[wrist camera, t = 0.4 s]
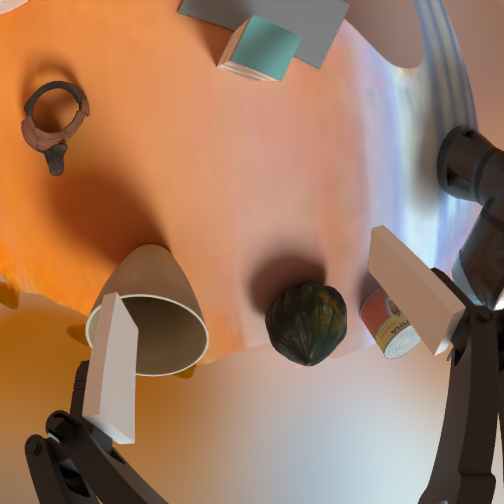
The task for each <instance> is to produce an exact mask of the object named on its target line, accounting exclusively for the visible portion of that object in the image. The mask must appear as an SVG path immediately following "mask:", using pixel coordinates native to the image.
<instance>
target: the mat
mask: <svg viewBox="0 0 504 504" xmlns="http://www.w3.org/2000/svg"><path fill="white" fill-rule="evenodd" d="M349 7H350V5H349V4H348V3H346V2H344V1H343V0H184V1H183V3H182V5H181V7H180V9H179V11H178V13H180V14H183V15H187V16H190V17H194V18H197V19H200V20H204V21H207V22H210V23H213V24H216V25H219V26H222V27H225V28H227V29H230V30H233V31H236V30H237V29H238V28H239V27H240V26H241V25H242V24H243V23H244V22H245V21H247V20H248V19H249V18H250V17H251V16H252V15H254V16H257V17H259V18H262V19H264V20H266V21H269V22H271V23H273V24H275V25H278V26H280V27H282V28H284V29H286V30H288V31H290V32H292V33H294V34H296V35H298V36H300V37H302V39H301V41H300V43H299V45H298V47H297V49H296V51H295V53H294V55H293V56H294V57H296V58H298V59H300V60H302V61H303V62H305V63H307V64H309V65H311V66H313V67H315V68H317V69H320V67H321V65H322V63H323V61H324V59H325V56H326V54H327V52H328V50H329V48H330V46H331V44H332V42H333V40H334V38H335V36H336V33H337V31H338V29H339V27H340V25H341V23H342V21H343V19H344V17H345V15H346V13H347V11H348V9H349Z"/></svg>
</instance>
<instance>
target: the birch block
mask: <svg viewBox="0 0 504 504" xmlns="http://www.w3.org/2000/svg"><path fill="white" fill-rule="evenodd" d="M301 39H302V37H300V36H298V35H296V34H294V33H292V32H290V31H288V30H286V29H284V28H282V27H280V26H278V25H275V24H273V23H271V22H269V21H266V20H264V19H262V18H259V17H257V16H254V15H252V16H251V17H250V18H249V19H248V20H247V21H245V22H244V23H243V24H242V25H241V26H240V27H239V28H238V29H237V30H236V31H234V32H233V33H232V35H231V37H230V39H229V41H228V43H227V45H226V47H225V49H224V51H223V54H222V56H221V58H220V60H219V62H218V65H217V67H218V68H221V69H224V70H227V71H229V72H232V73H235V74H237V75H240V76H243V77H245V78H248V79H250V80H263V81H282V78H283V76H284V74H285V72H286V70H287V68H288V66H289V64H290V61H291V59H292V57H293V55H294V53H295V51H296V49H297V47H298V45H299V43H300V41H301Z"/></svg>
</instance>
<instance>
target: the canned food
mask: <svg viewBox="0 0 504 504" xmlns="http://www.w3.org/2000/svg"><path fill="white" fill-rule="evenodd" d="M360 318H361V320H362V321H363V322H364V324H365V325H366V327H367V328H368V330H369V331H370V333H371V335H372V336H373V338H374V339H375V341H376V342H377V344H378V345H379V347H380V349H381V350H382V352H383V354H384V356H385V357H386V358H387V359H395V358H398V357H401V356H403V355H405V354H406V353H408V352H409V351H411V350H412V349H413V348H414V347H415V346H417V345H418V344H419V342H420V341H421V340H422V339H421V338H420V336H419V335H418V333H417V332H416V331H415V329H414V328H413V327H412V325H411V324H410V323H409V321H408V320H407V319H406V317H405V316H404V315H403V313H402V312H401V311H400V310H399V308H398V307H397V306H396V304H395V303H394V302H393V301H392V299H391V298H390V297H389V295H388V294H387V293H386V292H385V290H384V289H383V288H380V289H378V290H377V291H375V292H374V293H372V294H371V295H370V296H369V297H368V298H367V299H366V301H365V302H364V303H363V305H362V307H361V309H360Z"/></svg>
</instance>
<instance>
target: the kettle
mask: <svg viewBox="0 0 504 504" xmlns="http://www.w3.org/2000/svg"><path fill="white" fill-rule="evenodd" d="M27 1H28V0H0V14H3V13H6V12H9V11H11V10H13V9H15V8H16V7H18V6H20V5H22V4H24V3H25V2H27Z"/></svg>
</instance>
